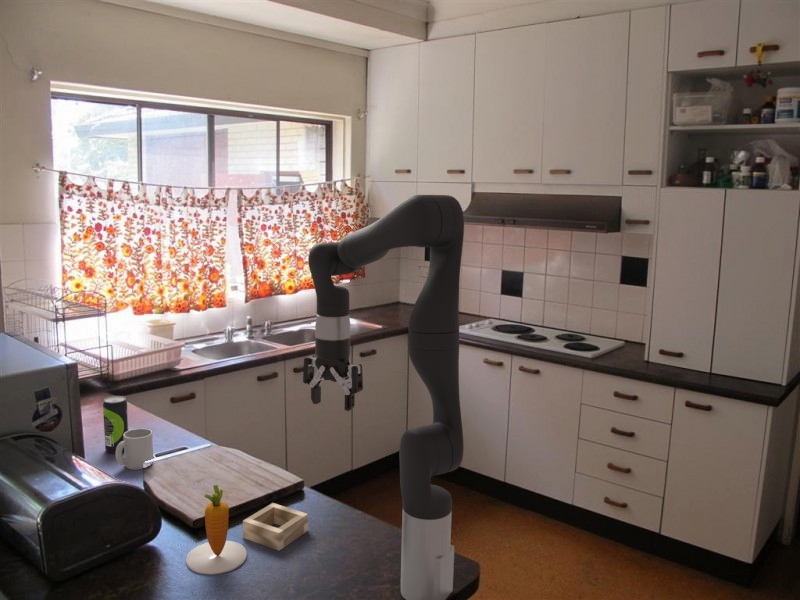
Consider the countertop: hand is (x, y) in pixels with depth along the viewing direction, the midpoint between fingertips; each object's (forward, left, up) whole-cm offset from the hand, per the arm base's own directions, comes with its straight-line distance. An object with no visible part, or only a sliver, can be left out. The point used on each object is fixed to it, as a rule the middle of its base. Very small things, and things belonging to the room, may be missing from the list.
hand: (332, 406), depth 154 cm
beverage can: (+76, -3, -28) cm, 81 cm away
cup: (+63, +2, -28) cm, 69 cm away
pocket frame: (+8, +10, -28) cm, 31 cm away
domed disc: (+12, +24, -28) cm, 39 cm away
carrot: (+12, +24, -28) cm, 38 cm away
